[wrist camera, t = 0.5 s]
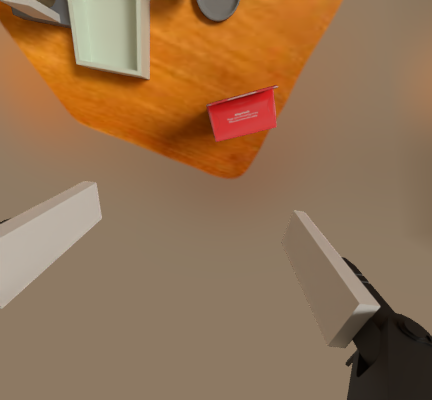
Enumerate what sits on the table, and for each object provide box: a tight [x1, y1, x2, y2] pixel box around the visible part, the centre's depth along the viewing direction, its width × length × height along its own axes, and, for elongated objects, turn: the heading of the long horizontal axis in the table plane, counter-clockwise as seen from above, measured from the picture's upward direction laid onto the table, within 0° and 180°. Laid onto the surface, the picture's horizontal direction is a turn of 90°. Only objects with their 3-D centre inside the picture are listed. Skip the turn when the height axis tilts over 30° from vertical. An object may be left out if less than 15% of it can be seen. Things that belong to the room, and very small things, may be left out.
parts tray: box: [68, 0, 150, 80], centre depth 28 cm, size 12×10×4 cm
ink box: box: [206, 85, 278, 142], centre depth 27 cm, size 8×5×15 cm, turn 104°
